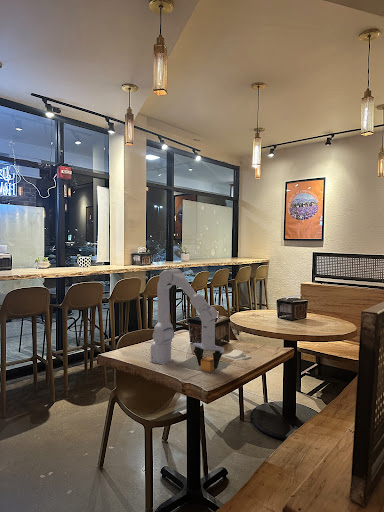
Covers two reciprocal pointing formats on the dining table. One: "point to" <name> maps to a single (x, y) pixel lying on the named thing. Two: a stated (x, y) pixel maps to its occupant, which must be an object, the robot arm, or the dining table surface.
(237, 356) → the light switch
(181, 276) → the robot arm
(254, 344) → the dining table surface
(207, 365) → the orange panelled cube
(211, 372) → the board
